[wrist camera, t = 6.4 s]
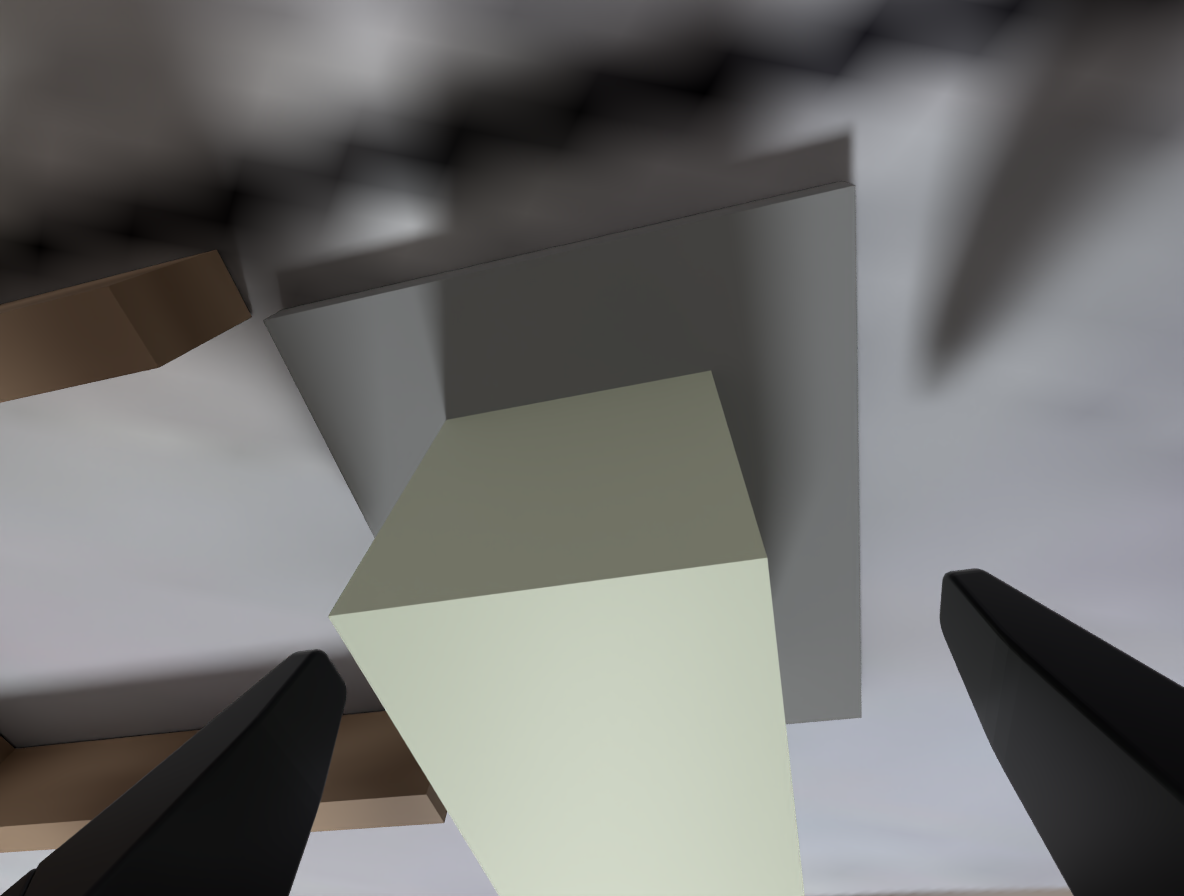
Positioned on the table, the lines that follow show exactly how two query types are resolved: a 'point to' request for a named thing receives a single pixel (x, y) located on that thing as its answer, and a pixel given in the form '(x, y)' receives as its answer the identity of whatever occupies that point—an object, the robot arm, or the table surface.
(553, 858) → the sage block
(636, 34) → the table surface
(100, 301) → the frame
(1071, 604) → the table surface
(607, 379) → the mat
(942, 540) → the table surface
